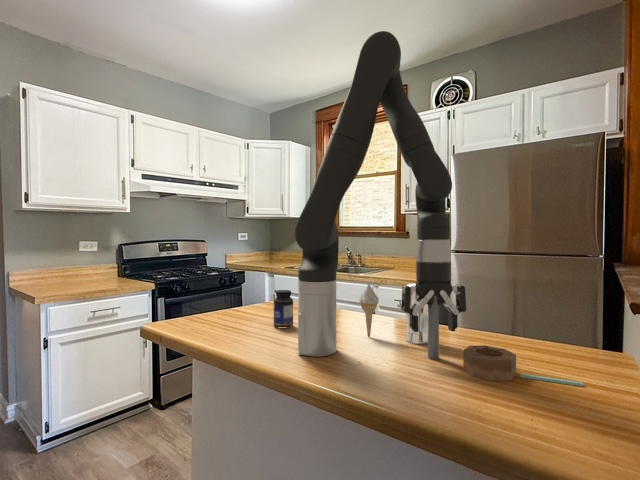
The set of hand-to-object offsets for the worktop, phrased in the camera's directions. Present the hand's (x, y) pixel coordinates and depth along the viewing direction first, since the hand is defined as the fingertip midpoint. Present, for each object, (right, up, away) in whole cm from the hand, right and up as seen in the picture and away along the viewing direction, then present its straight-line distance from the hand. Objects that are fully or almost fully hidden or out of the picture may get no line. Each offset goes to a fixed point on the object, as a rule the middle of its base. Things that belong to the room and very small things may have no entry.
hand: (433, 330), depth 79 cm
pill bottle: (-37, -6, +29) cm, 48 cm away
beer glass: (0, -6, +13) cm, 15 cm away
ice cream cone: (-12, -6, +17) cm, 22 cm away
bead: (+9, -6, -8) cm, 13 cm away
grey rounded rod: (0, -6, 0) cm, 6 cm away
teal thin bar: (+18, -6, -13) cm, 23 cm away
